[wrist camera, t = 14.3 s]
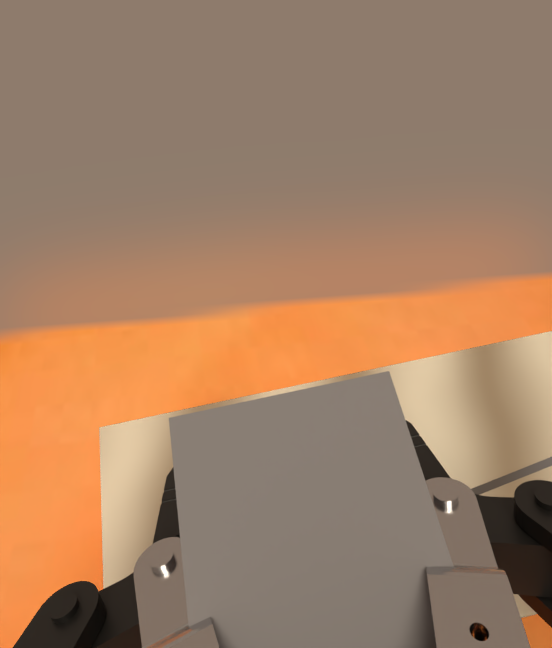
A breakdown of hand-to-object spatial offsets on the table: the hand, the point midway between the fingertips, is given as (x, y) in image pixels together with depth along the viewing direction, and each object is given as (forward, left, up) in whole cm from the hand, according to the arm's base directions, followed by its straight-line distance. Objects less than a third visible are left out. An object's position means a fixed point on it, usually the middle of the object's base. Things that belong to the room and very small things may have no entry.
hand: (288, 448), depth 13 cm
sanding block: (0, +2, -5) cm, 5 cm away
